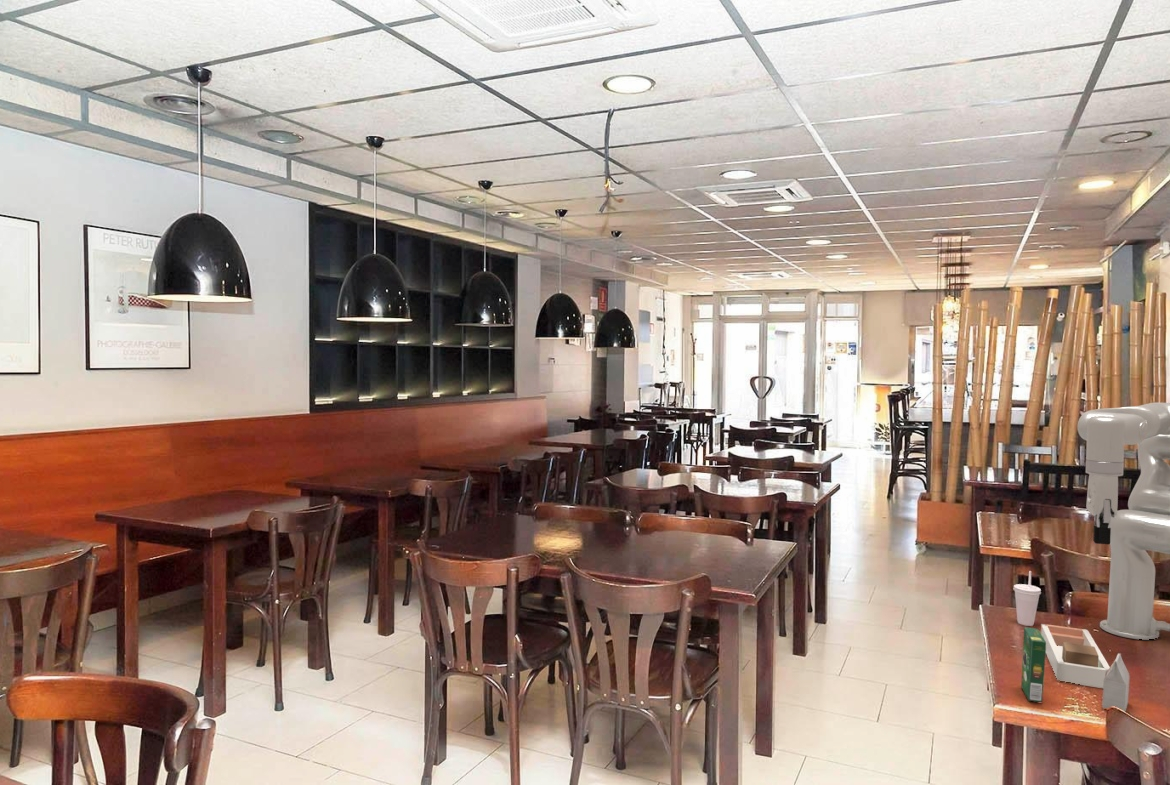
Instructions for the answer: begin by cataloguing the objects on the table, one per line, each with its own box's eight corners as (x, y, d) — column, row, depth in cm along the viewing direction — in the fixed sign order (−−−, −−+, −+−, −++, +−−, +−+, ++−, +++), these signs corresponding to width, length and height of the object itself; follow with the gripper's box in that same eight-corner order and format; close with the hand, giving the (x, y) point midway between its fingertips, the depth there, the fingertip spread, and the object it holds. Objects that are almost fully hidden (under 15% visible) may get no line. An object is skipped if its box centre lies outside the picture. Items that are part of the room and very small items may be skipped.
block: (1093, 664, 174) (1094, 646, 174) (1097, 674, 169) (1098, 655, 169) (1062, 659, 177) (1062, 641, 177) (1065, 668, 171) (1065, 650, 171)
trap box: (1086, 646, 193) (1087, 629, 192) (1111, 689, 167) (1112, 671, 167) (1040, 639, 196) (1041, 623, 196) (1057, 681, 171) (1058, 663, 171)
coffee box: (1043, 704, 159) (1047, 641, 158) (1027, 702, 160) (1030, 639, 159) (1035, 689, 166) (1038, 628, 166) (1020, 686, 167) (1023, 626, 167)
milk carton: (1127, 703, 160) (1130, 655, 160) (1124, 714, 155) (1127, 664, 155) (1106, 698, 163) (1109, 650, 162) (1102, 709, 158) (1104, 660, 157)
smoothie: (1044, 628, 205) (1047, 575, 204) (1019, 627, 205) (1022, 574, 204) (1031, 619, 211) (1033, 568, 211) (1007, 619, 212) (1009, 567, 211)
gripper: (1080, 462, 196) (1078, 534, 198) (1091, 472, 183) (1089, 549, 184) (1116, 463, 193) (1113, 537, 195) (1130, 473, 180) (1127, 552, 181)
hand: (1101, 542), depth 189 cm, fingers closed
